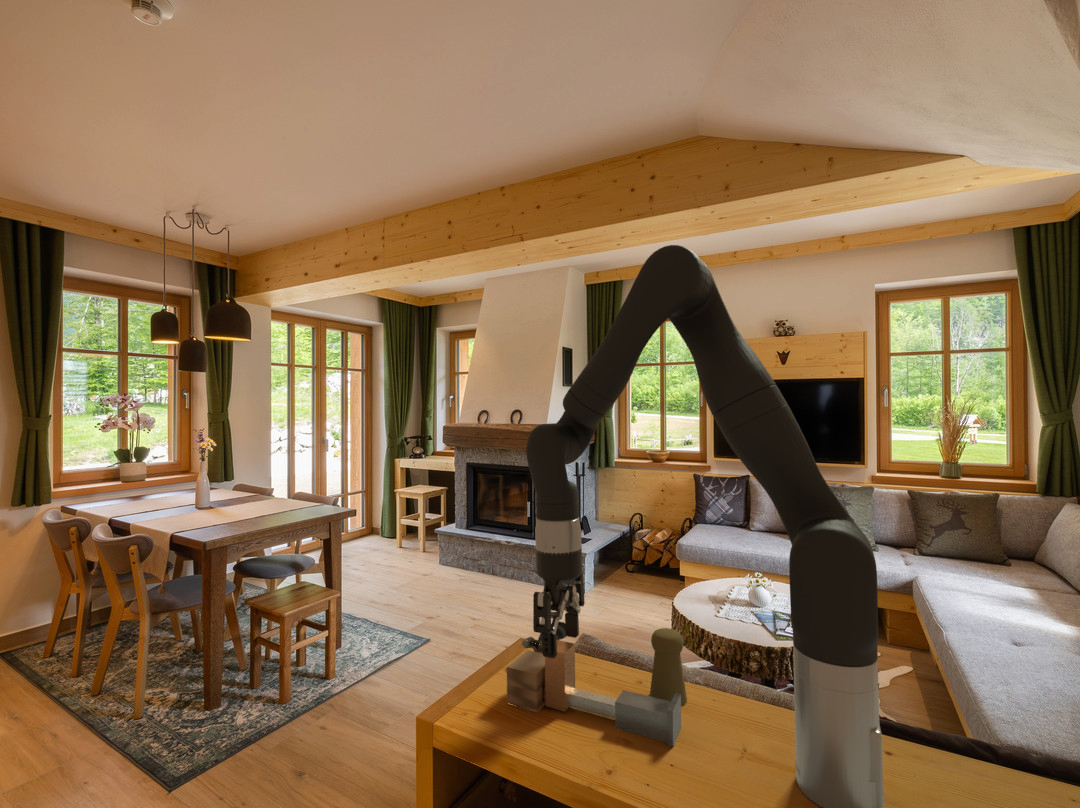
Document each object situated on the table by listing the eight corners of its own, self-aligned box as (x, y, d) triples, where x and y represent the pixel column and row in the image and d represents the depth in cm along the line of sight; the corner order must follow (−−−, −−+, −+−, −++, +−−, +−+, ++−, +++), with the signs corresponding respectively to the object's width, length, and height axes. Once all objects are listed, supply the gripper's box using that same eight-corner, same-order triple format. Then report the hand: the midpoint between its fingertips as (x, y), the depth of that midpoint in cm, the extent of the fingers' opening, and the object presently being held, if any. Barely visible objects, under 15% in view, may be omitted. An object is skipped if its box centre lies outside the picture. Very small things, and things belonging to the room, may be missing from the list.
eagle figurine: (563, 666, 96) (577, 637, 105) (541, 632, 97) (557, 607, 105) (532, 680, 99) (549, 651, 108) (511, 648, 100) (529, 622, 108)
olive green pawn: (688, 710, 83) (687, 640, 84) (649, 706, 85) (648, 637, 85) (685, 690, 89) (684, 625, 90) (649, 687, 90) (648, 622, 91)
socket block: (556, 691, 89) (555, 656, 89) (536, 712, 83) (536, 674, 83) (527, 684, 92) (527, 649, 92) (507, 704, 86) (506, 666, 86)
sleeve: (681, 728, 79) (680, 694, 79) (673, 746, 74) (672, 711, 74) (624, 713, 83) (624, 681, 83) (614, 730, 78) (613, 696, 78)
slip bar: (636, 714, 81) (635, 656, 81) (627, 728, 78) (627, 667, 78) (533, 688, 90) (533, 635, 90) (522, 699, 86) (521, 644, 86)
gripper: (560, 558, 78) (564, 669, 77) (596, 538, 90) (599, 633, 90) (516, 553, 81) (519, 660, 81) (556, 534, 94) (559, 626, 93)
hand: (561, 646), depth 85 cm, fingers open, 8 cm apart
